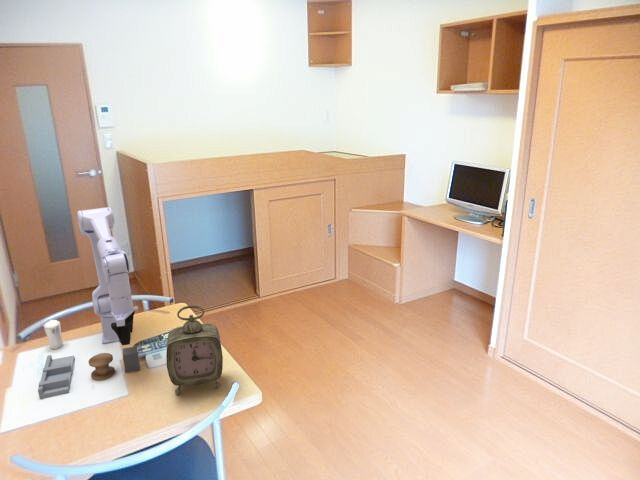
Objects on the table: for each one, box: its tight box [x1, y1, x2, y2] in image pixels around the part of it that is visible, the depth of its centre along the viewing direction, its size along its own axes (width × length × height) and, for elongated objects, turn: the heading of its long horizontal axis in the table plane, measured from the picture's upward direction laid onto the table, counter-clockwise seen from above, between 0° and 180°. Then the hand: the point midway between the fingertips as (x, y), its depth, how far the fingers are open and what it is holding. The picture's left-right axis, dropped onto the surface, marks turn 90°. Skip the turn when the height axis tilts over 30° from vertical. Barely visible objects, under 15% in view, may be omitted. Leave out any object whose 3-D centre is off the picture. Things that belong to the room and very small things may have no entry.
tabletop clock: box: [165, 304, 224, 395], centre depth 126 cm, size 14×9×25 cm, turn 105°
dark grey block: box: [122, 345, 141, 374], centre depth 137 cm, size 4×4×6 cm
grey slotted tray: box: [37, 354, 76, 400], centre depth 133 cm, size 18×7×3 cm, turn 22°
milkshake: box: [39, 319, 63, 350], centre depth 147 cm, size 5×5×10 cm
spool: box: [88, 352, 116, 381], centre depth 134 cm, size 6×6×5 cm
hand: (127, 338), depth 134 cm, fingers open, 7 cm apart
